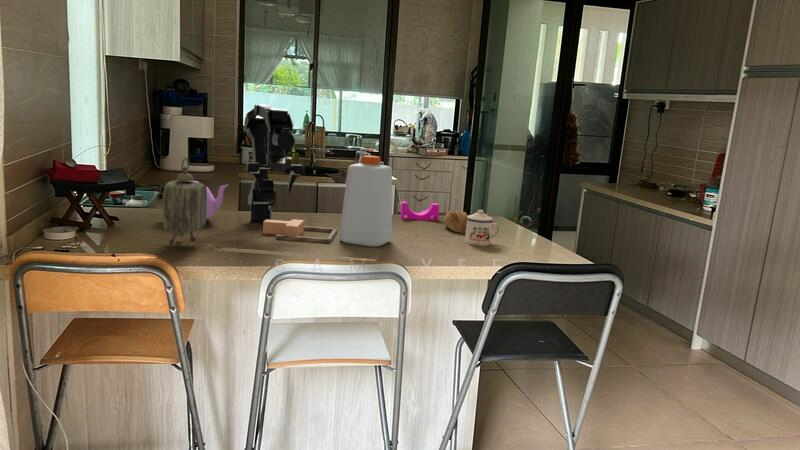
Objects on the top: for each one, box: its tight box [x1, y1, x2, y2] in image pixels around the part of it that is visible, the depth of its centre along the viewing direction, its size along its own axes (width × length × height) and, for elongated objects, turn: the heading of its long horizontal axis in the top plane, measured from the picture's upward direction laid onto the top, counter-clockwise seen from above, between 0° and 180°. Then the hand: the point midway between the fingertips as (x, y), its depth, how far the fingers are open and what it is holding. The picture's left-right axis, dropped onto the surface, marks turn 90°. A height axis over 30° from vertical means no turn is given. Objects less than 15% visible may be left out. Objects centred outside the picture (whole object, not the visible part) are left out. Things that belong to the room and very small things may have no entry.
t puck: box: [262, 218, 305, 237], centre depth 199 cm, size 12×12×4 cm
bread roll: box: [443, 209, 469, 234], centre depth 227 cm, size 10×15×8 cm, turn 14°
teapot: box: [191, 180, 229, 221], centre depth 210 cm, size 22×16×14 cm
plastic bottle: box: [339, 155, 393, 248], centre depth 195 cm, size 15×15×28 cm
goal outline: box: [275, 225, 338, 244], centre depth 199 cm, size 17×18×1 cm
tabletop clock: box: [162, 157, 207, 246], centre depth 176 cm, size 14×9×25 cm, turn 5°
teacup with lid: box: [464, 209, 501, 247], centre depth 207 cm, size 12×9×12 cm
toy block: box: [399, 200, 440, 221], centre depth 244 cm, size 15×6×8 cm, turn 97°
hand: (274, 193), depth 202 cm, fingers open, 9 cm apart
